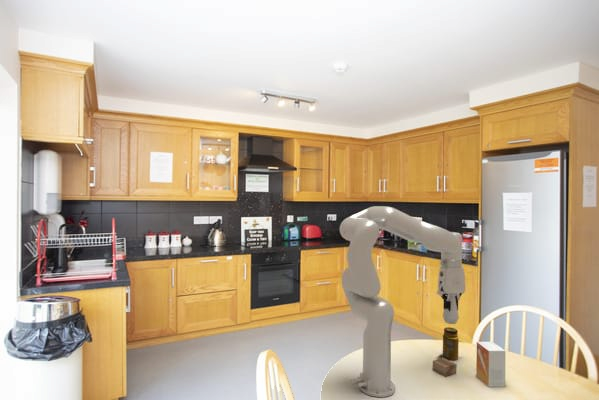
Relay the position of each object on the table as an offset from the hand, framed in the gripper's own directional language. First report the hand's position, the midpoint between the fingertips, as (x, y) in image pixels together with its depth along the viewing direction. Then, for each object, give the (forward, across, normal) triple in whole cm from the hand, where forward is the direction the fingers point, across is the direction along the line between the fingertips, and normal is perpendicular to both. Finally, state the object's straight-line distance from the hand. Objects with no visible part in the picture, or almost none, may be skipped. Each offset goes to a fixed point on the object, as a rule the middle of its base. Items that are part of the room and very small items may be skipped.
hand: (450, 309), depth 137 cm
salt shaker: (+5, 0, 0) cm, 5 cm away
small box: (+23, +6, -13) cm, 27 cm away
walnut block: (+23, -5, -2) cm, 24 cm away
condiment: (+23, +6, +7) cm, 25 cm away
